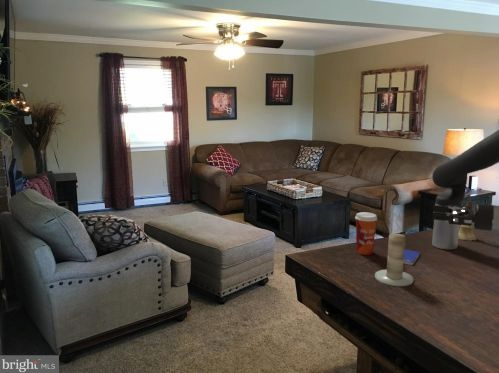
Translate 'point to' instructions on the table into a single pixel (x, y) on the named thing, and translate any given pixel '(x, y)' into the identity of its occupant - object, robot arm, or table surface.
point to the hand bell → (466, 229)
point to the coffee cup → (365, 232)
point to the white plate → (384, 279)
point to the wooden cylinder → (395, 256)
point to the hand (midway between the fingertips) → (433, 212)
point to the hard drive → (410, 256)
